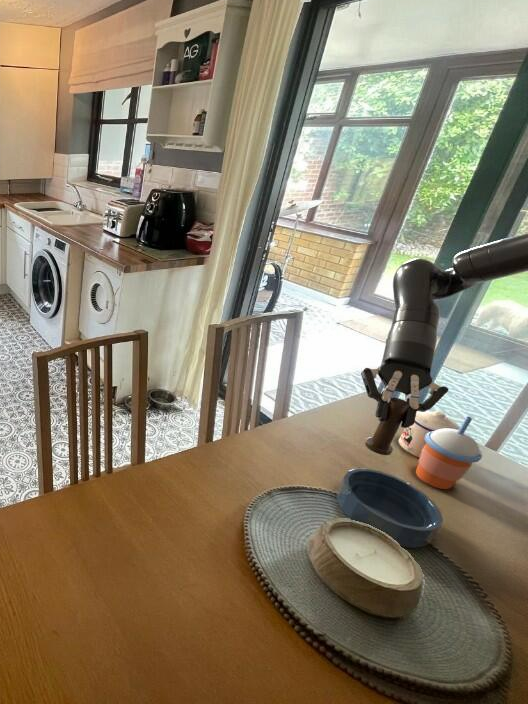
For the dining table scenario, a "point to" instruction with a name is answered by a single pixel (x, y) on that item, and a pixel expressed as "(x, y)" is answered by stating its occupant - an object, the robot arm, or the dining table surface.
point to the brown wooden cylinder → (388, 427)
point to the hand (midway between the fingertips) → (393, 423)
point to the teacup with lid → (424, 430)
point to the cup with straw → (447, 456)
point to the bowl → (389, 506)
